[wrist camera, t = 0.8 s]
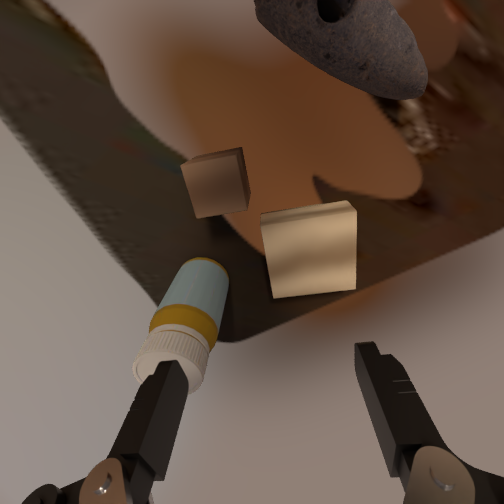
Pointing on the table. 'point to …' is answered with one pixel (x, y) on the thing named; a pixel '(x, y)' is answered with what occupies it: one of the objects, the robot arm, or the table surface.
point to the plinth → (310, 248)
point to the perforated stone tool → (351, 42)
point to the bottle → (186, 322)
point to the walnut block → (217, 182)
